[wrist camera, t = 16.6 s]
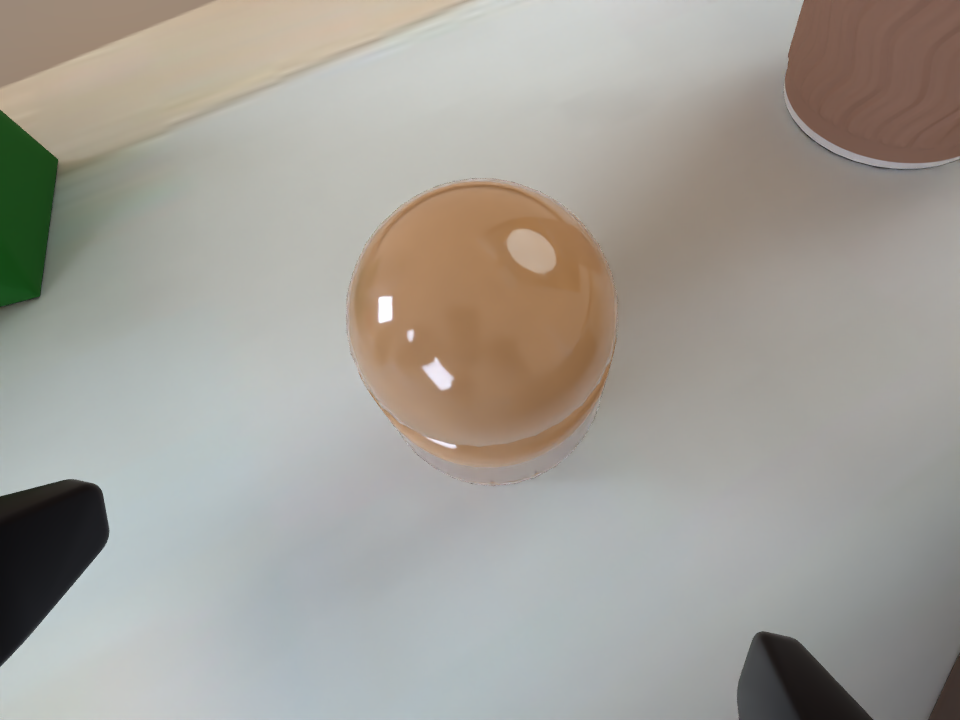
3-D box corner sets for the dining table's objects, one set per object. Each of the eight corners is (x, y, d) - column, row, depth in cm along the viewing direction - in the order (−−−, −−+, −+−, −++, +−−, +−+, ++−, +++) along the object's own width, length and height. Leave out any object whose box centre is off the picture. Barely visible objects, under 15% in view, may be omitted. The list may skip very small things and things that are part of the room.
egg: (628, 441, 16) (716, 262, 8) (473, 547, 15) (401, 465, 7) (523, 311, 18) (511, 70, 10) (382, 398, 17) (250, 208, 9)
